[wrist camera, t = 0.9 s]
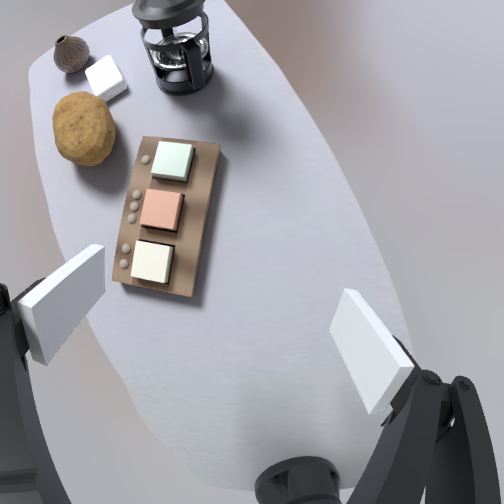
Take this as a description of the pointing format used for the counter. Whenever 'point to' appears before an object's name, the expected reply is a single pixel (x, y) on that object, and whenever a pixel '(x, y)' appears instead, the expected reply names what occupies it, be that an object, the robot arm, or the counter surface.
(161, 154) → the sage button
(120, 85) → the soap
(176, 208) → the terracotta button
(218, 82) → the counter surface
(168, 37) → the french press
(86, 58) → the vase
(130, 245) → the console
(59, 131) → the potato
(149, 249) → the cream button
